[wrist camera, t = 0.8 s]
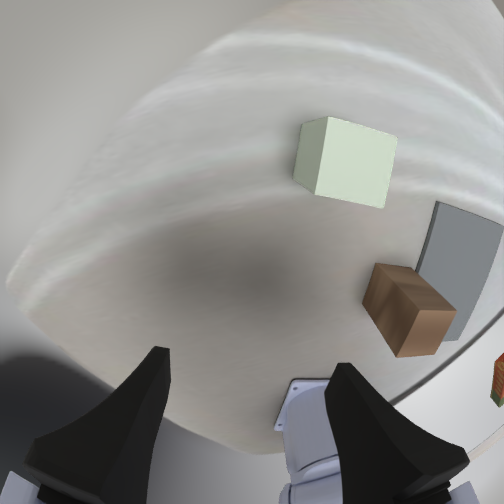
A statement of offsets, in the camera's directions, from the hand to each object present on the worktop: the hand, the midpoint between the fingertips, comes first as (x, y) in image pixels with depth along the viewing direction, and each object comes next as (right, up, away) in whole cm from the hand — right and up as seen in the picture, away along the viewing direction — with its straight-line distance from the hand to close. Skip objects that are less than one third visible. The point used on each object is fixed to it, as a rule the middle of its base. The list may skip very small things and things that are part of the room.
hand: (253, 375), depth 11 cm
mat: (+19, +2, +11) cm, 22 cm away
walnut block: (+11, +2, +11) cm, 16 cm away
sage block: (+5, +12, +7) cm, 14 cm away
